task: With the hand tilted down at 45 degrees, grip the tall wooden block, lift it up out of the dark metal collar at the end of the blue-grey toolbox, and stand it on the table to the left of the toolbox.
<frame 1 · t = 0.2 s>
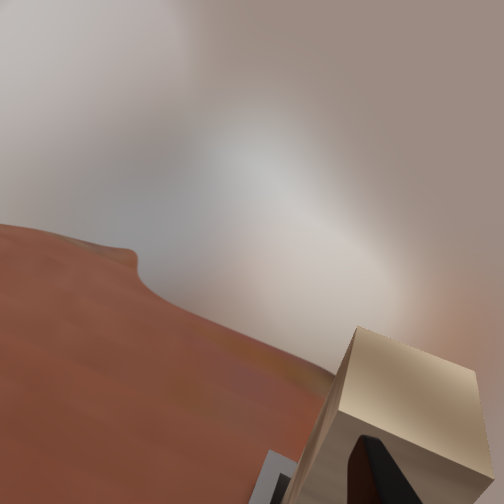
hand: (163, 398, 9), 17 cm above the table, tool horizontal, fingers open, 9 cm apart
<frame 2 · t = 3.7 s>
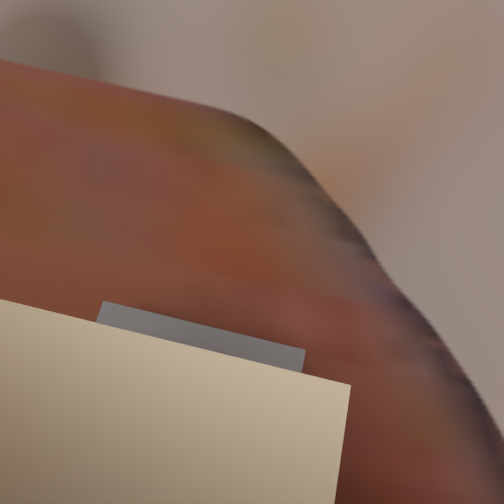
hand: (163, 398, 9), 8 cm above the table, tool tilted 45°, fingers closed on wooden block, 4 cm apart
wooden block: (184, 425, 16), resting in toolbox, touching gripper
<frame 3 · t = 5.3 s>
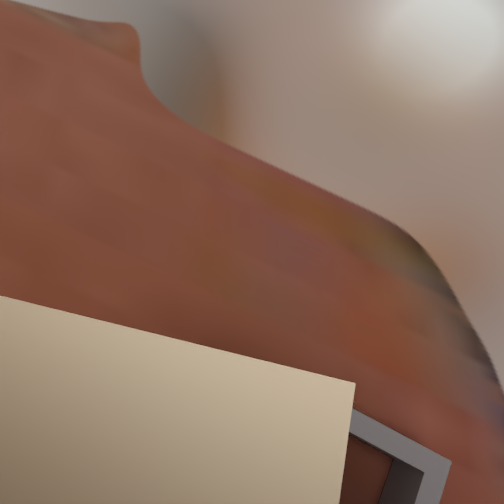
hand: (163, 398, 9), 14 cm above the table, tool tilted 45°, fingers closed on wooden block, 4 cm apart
wooden block: (185, 425, 16), point 5 cm above the table, touching gripper
when the fingers open (10 cm above the table, at t = 6.8 s): wooden block drops 1 cm, on the table.
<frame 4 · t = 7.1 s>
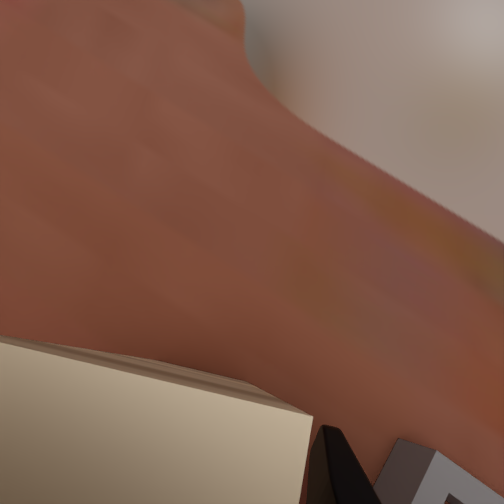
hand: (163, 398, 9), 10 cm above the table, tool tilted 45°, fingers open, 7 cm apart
wooden block: (188, 420, 18), on the table
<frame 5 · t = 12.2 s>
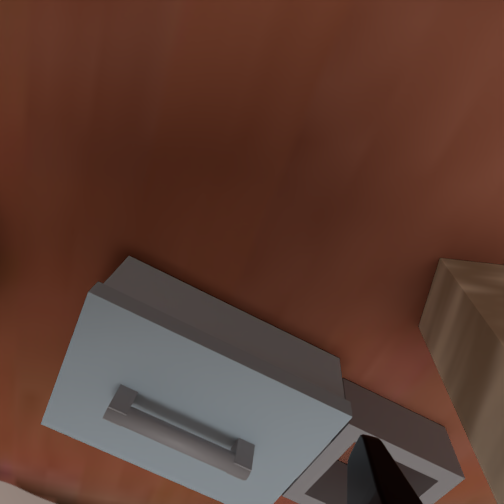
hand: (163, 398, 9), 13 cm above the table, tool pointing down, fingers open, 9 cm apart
wooden block: (470, 298, 21), on the table
toolbox: (204, 364, 25), on the table
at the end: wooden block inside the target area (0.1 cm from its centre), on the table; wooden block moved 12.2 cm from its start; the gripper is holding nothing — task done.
